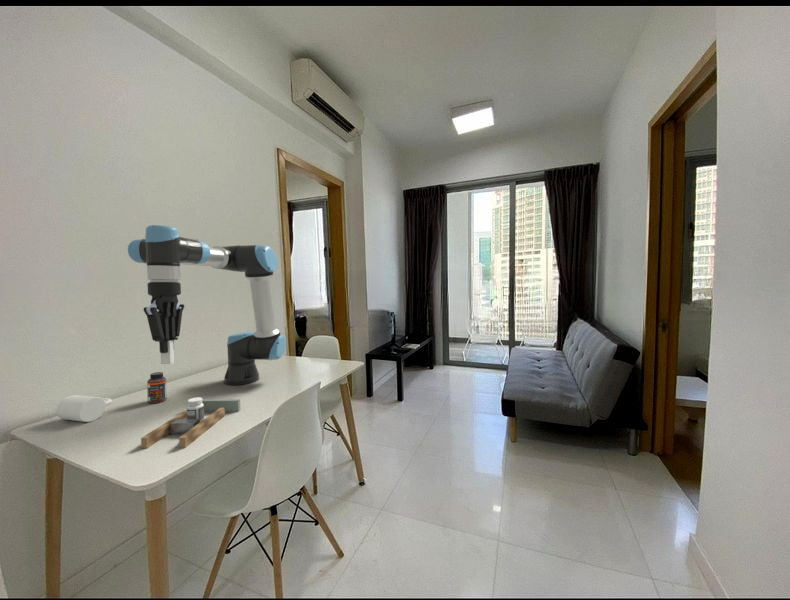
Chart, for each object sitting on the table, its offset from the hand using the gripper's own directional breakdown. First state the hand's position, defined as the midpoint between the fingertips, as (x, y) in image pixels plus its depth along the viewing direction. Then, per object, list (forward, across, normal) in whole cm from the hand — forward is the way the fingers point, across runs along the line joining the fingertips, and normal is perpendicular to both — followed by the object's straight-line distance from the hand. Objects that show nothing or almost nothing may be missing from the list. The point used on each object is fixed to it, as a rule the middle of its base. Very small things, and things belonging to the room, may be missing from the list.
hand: (167, 363), depth 87 cm
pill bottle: (+24, -12, 0) cm, 27 cm away
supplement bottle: (+24, -33, -28) cm, 49 cm away
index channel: (+24, -8, 0) cm, 25 cm away
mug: (+24, -19, -41) cm, 51 cm away
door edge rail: (+24, -23, 0) cm, 33 cm away
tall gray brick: (+24, -6, 0) cm, 25 cm away
